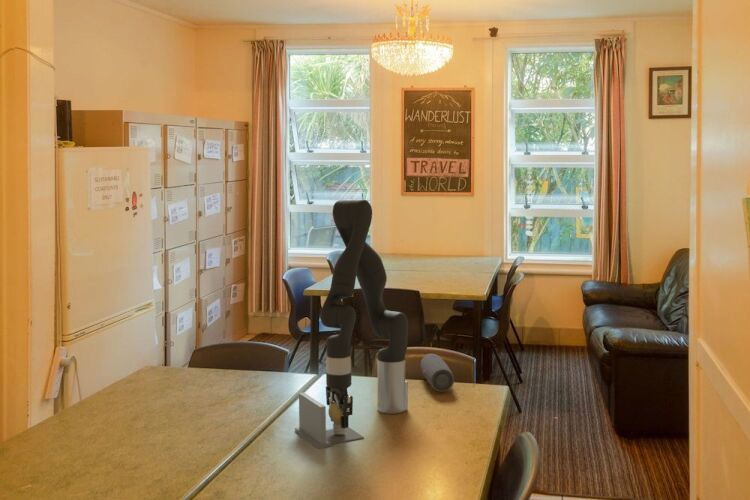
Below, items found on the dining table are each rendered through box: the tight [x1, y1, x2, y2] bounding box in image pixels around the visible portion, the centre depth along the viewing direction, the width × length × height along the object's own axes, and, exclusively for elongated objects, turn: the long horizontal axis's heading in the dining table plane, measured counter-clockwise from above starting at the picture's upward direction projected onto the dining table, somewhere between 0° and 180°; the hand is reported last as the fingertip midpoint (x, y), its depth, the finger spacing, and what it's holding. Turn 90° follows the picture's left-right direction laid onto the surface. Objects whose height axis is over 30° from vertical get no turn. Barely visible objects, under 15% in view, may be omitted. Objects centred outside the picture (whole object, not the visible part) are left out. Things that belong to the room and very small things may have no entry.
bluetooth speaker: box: [420, 353, 455, 393], centre depth 290 cm, size 23×9×10 cm, turn 6°
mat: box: [326, 426, 365, 446], centre depth 239 cm, size 11×11×1 cm
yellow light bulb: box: [328, 402, 350, 435], centre depth 239 cm, size 6×6×10 cm
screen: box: [294, 391, 331, 449], centre depth 237 cm, size 4×17×12 cm, turn 28°
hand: (339, 424), depth 239 cm, fingers open, 6 cm apart
